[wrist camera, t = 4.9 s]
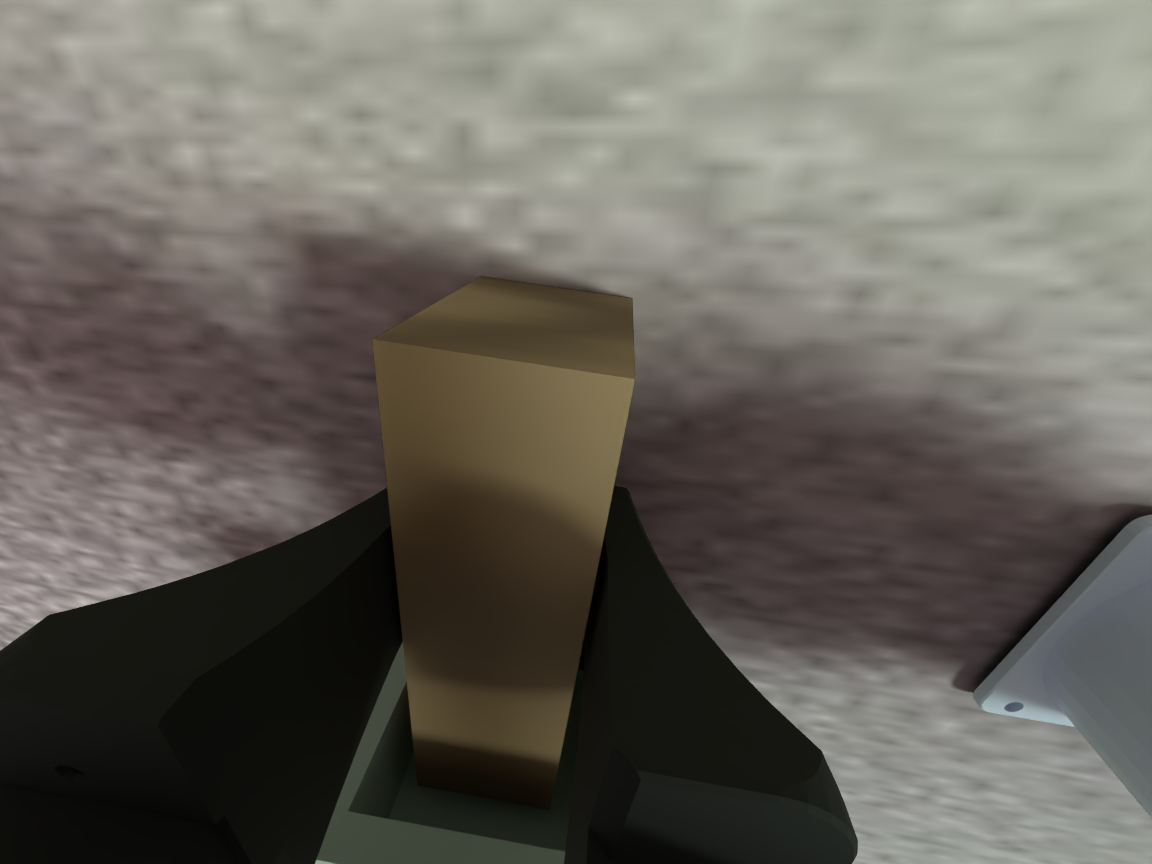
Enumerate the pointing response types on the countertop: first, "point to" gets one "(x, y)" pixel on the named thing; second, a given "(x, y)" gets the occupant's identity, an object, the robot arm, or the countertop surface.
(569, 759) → the block
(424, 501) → the bar
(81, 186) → the countertop surface
